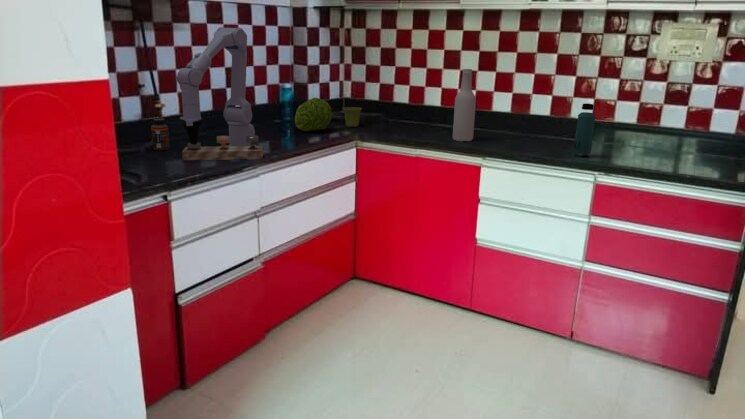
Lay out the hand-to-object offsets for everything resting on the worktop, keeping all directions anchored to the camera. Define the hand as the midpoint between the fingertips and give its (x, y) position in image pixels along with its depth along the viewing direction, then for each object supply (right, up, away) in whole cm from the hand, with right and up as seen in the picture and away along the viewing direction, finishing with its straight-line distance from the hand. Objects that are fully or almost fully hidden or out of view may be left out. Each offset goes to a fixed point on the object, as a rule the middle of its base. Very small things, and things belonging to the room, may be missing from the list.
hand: (193, 143), depth 196 cm
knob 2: (+20, -1, +4) cm, 20 cm away
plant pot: (+52, +18, +79) cm, 96 cm away
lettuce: (+34, +14, +64) cm, 74 cm away
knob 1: (0, -4, +1) cm, 4 cm away
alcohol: (+102, +7, +48) cm, 113 cm away
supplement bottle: (-17, -1, +14) cm, 22 cm away
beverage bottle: (+143, -3, +19) cm, 144 cm away
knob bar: (+10, -4, +3) cm, 11 cm away
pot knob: (+10, -2, +2) cm, 10 cm away
